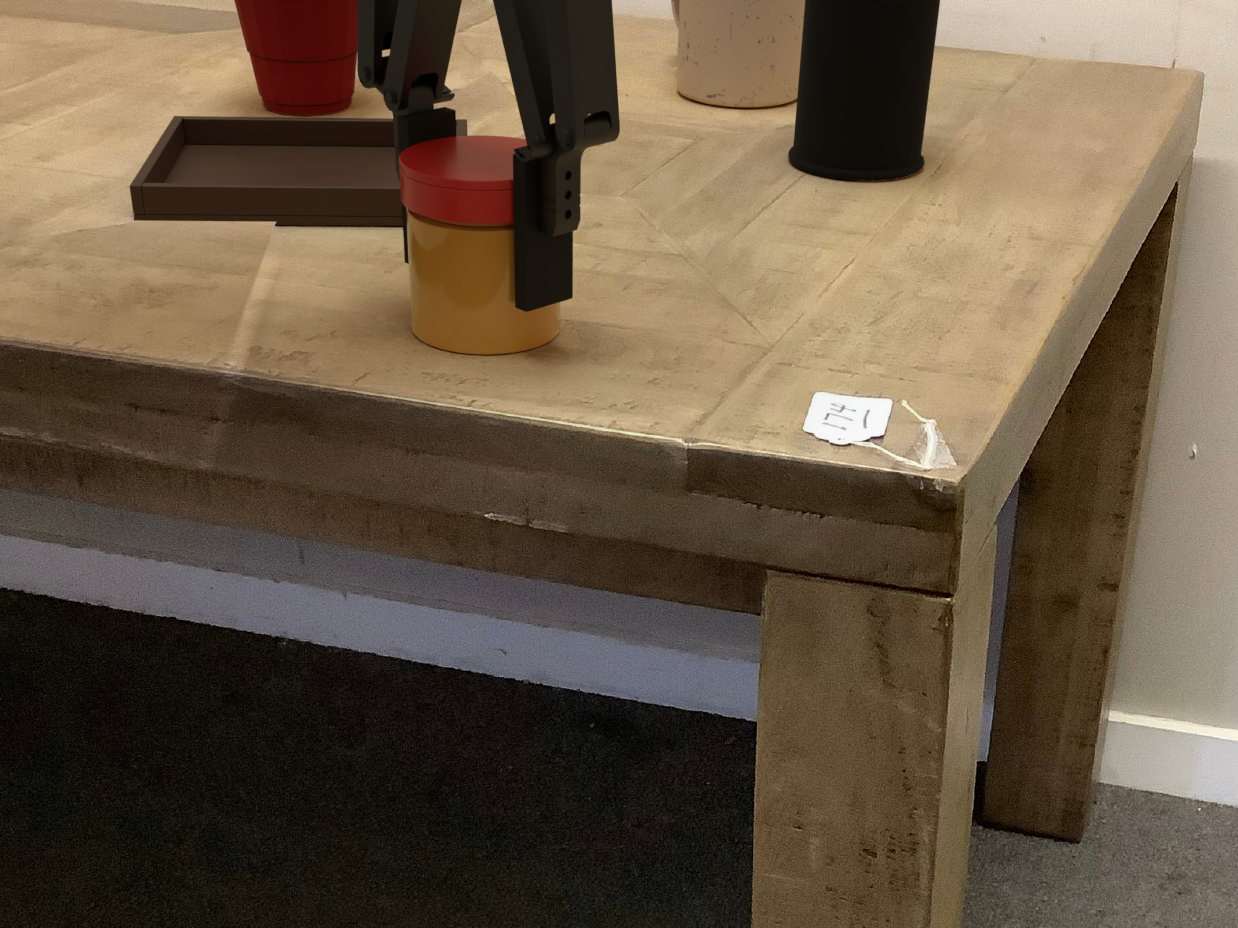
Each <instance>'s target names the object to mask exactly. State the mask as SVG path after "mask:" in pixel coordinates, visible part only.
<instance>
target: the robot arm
mask: <svg viewBox="0 0 1238 928" xmlns="http://www.w3.org/2000/svg"><path fill="white" fill-rule="evenodd" d="M462 1H463V0H358V46H357V62H356V73H357V77H358V80H359V83H360V84H361V86H362V87H363V88H364V89H370V90H371V89H374V88H375V89H376V91H378V92H380V94H381V95H382V97H383V98H382V99H383V102H384V105H385V106H386V108H387V109H388V110H389V111H390V112H391V113H392V119H393V128H394V146H395V155H396V157H395V164H396V172H397V175H398V179H399V181H400V171H399V156H400V154H401V153H402V151H404V150H405V149H407V148H408V147H410V146H413V145H415V144H418V143H421V142H425V141H429V140H434V139H439V138H446V137H456V120H457V116H456V115H457V114H456V112H457V111H456V109H453V108H450V107H447V106H442V107H437V108H435V105H436V104H441V103H446V102H451V101H453V100H454V98H455V96H456V93H455V92H452V90H451V89H450V88H449V87H448V86H447V85H446V79H447V76H448V75H447V74H448V70H449V64H450V60H451V55H452V51H453V45H454V41H455V35H456V31H457V25H458V23H459V16H460V11H461V7H462ZM492 3H493V7H494V11H495V16H496V20H497V25H498V28H499V32H500V36H501V41H502V45H503V49H504V53H505V57H506V62H507V66H508V70H509V76H510V79H511V83H512V87H513V93H514V96H515V100H516V104H517V108H518V114H519V117H520V121H521V125H522V130H523V134H524V139H526V143H527V146H523V147H520V148H516V149H514V152H515V154H513V199H514V261H515V308H518V309H520V310H523V311H525V312H528V311H532V310H535V309H538V308H542V307H545V306H548V305H552V304H555V303H558V302H560V303H562V302H565V301H568V300H572V299H573V297H574V295H573V293H574V292H573V291H574V261H573V260H574V232H575V231H578V228H579V225H580V222H581V202H582V201H581V192H582V191H581V185H582V184H581V180H582V177H581V175H582V174H581V171H582V170H581V169H582V157H583V154H584V153H585V151H586V150H587V149H589V148H591V147H596V146H600V145H604V144H608V143H612V142H615V141H616V140H617V139H618V138H619V135H620V132H621V124H620V122H621V121H620V108H619V92H618V91H619V89H618V76H617V75H618V74H617V58H616V45H615V27H614V13H613V12H614V11H613V0H492ZM387 50H389V54H388V55H384V56H383V51H387ZM552 115H553V116H554V122H552V123H551V117H552ZM402 219H403V226H402V235H403V236H402V237H403V253H404V263H406V264H408V265H409V259H408V238H407V217H406V207H405V206H404V205H403V203H402Z"/></svg>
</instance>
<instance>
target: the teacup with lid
mask: <svg viewBox="0 0 1238 928" xmlns="http://www.w3.org/2000/svg"><path fill="white" fill-rule="evenodd" d="M670 3H671V11H672V15H673V19H674V23H675V25H676V28H677V30H678V37H677V56H676V57H677V60H676V62H677V63H676V89H677V91H678V92H679V93H680V94H681V95H682V96H684V97H685V98H687V99H689V100H692V101H695V102H697V103H702V104H706V105H713V106H719V107H727V108H728V107H729V108H767V107H768V108H769V107H774V106H781V105H786V104H788V103H791V102H793V101H795V100H797V95H798V83H799V70H800V58H801V46H802V33H803V21H804V8H805V0H670Z"/></svg>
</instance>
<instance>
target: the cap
mask: <svg viewBox="0 0 1238 928" xmlns="http://www.w3.org/2000/svg"><path fill="white" fill-rule="evenodd" d="M523 146H527V143H526V138H520V137H514V136H513V137H512V136H501V135H479V134H478V135H467V136H456V137H446V138H439V139H434V140H429V141H425V142H421V143H418V144H415V145H413V146H410V147H408V148H407V149H405V150H404V151H402V153H401V154H400V156H399V171H400V191H401V201H402V203H403V205H404V206H405V207H406V208H408V209H409V210H411V211H413V212H415V213H417V214H420V215H423V216H426V217H430V218H434V219H438V220H443V221H450V222H459V223H473V224H497V223H510V222H514V199H513V154H515V152H514V149H516V148H520V147H523Z"/></svg>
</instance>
